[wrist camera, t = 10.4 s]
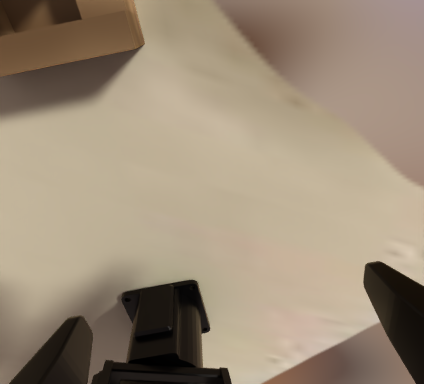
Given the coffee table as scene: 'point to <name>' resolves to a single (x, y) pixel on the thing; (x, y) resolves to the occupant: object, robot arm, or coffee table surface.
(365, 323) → the coffee table surface
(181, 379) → the robot arm
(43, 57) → the track
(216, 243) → the coffee table surface
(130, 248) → the coffee table surface
